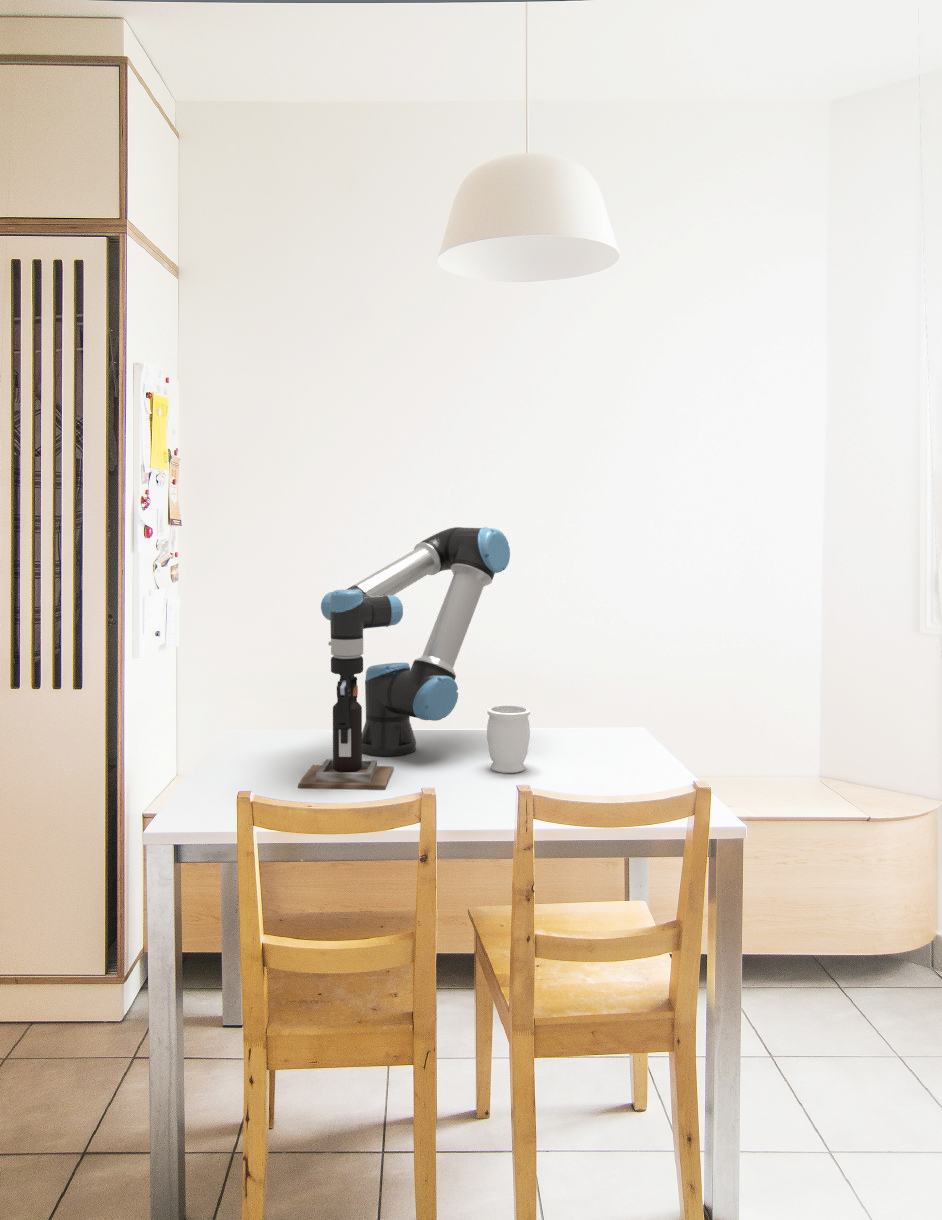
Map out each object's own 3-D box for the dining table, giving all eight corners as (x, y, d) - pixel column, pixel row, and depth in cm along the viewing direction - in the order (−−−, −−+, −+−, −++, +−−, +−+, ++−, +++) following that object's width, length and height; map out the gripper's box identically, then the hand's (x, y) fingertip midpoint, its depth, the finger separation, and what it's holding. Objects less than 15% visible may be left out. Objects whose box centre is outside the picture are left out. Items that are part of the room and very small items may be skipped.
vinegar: (361, 773, 215) (361, 688, 213) (332, 773, 215) (331, 688, 213) (362, 765, 222) (362, 683, 220) (334, 765, 222) (333, 683, 220)
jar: (534, 765, 231) (535, 707, 230) (522, 776, 222) (523, 715, 220) (493, 761, 235) (494, 703, 233) (480, 772, 225) (481, 711, 224)
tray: (393, 770, 226) (393, 758, 226) (385, 789, 210) (385, 776, 210) (312, 768, 227) (312, 756, 227) (298, 787, 211) (298, 775, 211)
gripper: (338, 649, 225) (339, 742, 228) (322, 662, 206) (323, 763, 209) (369, 650, 225) (369, 742, 228) (356, 662, 206) (356, 763, 208)
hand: (347, 752), depth 218 cm, fingers open, 6 cm apart
